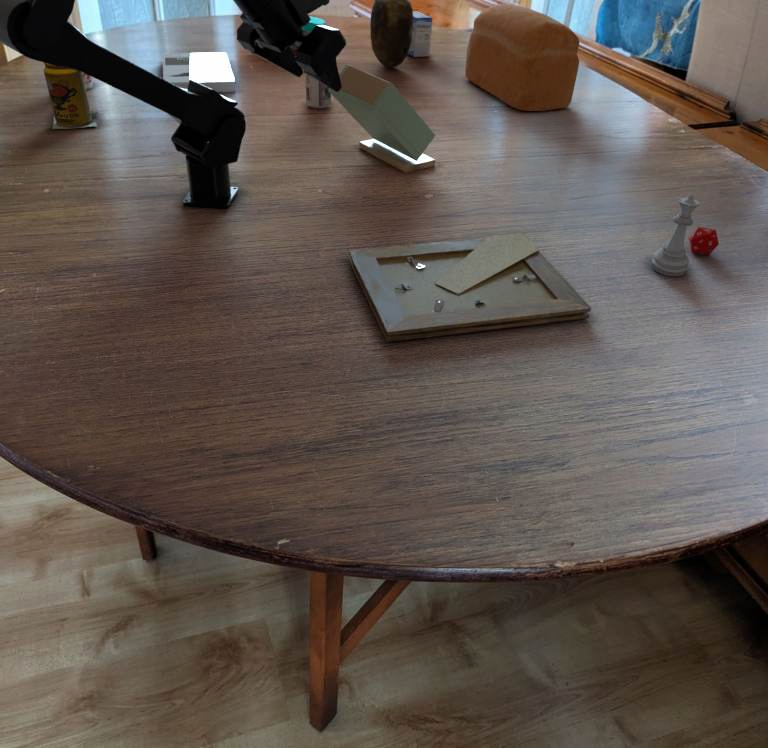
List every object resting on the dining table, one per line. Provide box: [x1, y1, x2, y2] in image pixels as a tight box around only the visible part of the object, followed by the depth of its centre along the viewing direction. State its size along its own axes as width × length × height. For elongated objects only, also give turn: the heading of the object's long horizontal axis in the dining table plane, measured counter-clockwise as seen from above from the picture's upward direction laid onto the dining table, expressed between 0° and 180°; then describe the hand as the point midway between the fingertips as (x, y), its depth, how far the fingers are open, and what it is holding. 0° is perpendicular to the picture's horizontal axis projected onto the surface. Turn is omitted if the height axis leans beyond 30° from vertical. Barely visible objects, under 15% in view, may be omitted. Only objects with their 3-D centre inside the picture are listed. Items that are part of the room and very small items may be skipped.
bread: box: [464, 3, 580, 112], centre depth 148 cm, size 14×26×16 cm, turn 20°
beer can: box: [304, 73, 332, 110], centre depth 137 cm, size 5×5×12 cm
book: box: [161, 51, 237, 93], centre depth 152 cm, size 23×14×2 cm, turn 14°
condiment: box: [43, 62, 98, 130], centre depth 124 cm, size 7×8×12 cm
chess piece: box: [650, 193, 700, 277], centre depth 90 cm, size 4×4×10 cm
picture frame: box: [348, 232, 592, 343], centre depth 86 cm, size 19×2×24 cm
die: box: [688, 226, 720, 256], centre depth 96 cm, size 4×3×4 cm
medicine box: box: [407, 10, 433, 58], centre depth 174 cm, size 8×4×9 cm, turn 25°
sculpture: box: [369, 0, 414, 69], centre depth 159 cm, size 13×8×20 cm, turn 15°
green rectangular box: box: [328, 63, 436, 161], centre depth 114 cm, size 5×12×13 cm
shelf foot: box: [358, 138, 436, 174], centre depth 120 cm, size 6×13×1 cm, turn 36°
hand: (319, 81), depth 107 cm, fingers open, 9 cm apart
